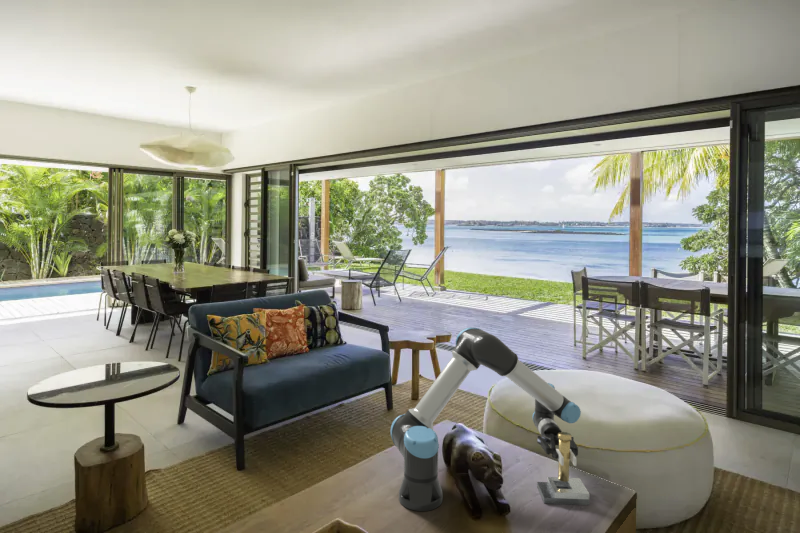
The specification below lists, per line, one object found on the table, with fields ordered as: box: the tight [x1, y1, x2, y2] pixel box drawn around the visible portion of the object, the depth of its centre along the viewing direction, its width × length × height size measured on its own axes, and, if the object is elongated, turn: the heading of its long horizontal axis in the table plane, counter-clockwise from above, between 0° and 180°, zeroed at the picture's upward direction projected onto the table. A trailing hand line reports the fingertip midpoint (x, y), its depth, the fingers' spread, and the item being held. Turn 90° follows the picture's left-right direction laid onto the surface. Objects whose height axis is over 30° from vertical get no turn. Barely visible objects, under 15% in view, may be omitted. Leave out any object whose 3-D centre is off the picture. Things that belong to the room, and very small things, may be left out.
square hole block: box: [536, 476, 590, 506], centre depth 161 cm, size 15×10×4 cm, turn 87°
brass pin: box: [557, 431, 572, 482], centre depth 161 cm, size 4×4×16 cm
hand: (568, 461), depth 155 cm, fingers closed on brass pin, 3 cm apart
